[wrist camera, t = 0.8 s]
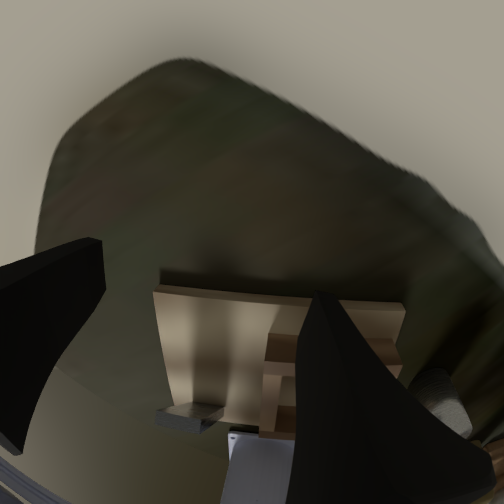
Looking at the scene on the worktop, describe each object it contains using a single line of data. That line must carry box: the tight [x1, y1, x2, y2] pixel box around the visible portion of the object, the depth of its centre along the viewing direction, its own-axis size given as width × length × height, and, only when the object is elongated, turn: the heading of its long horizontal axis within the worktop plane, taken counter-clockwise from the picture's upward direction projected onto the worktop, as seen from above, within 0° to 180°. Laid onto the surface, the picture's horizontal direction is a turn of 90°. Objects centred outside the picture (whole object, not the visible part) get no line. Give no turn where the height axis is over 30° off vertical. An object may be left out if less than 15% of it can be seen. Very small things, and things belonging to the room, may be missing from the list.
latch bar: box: [155, 401, 225, 434], centre depth 20 cm, size 9×3×1 cm
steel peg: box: [407, 367, 472, 439], centre depth 19 cm, size 4×4×7 cm
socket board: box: [153, 284, 406, 441], centre depth 21 cm, size 14×18×4 cm
